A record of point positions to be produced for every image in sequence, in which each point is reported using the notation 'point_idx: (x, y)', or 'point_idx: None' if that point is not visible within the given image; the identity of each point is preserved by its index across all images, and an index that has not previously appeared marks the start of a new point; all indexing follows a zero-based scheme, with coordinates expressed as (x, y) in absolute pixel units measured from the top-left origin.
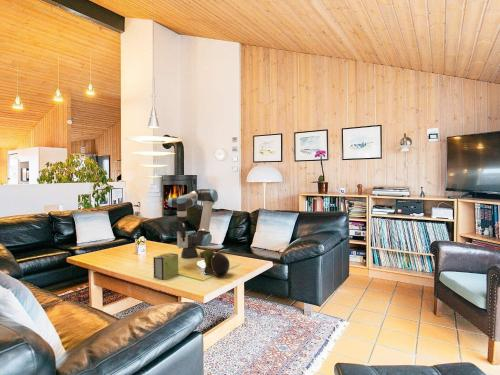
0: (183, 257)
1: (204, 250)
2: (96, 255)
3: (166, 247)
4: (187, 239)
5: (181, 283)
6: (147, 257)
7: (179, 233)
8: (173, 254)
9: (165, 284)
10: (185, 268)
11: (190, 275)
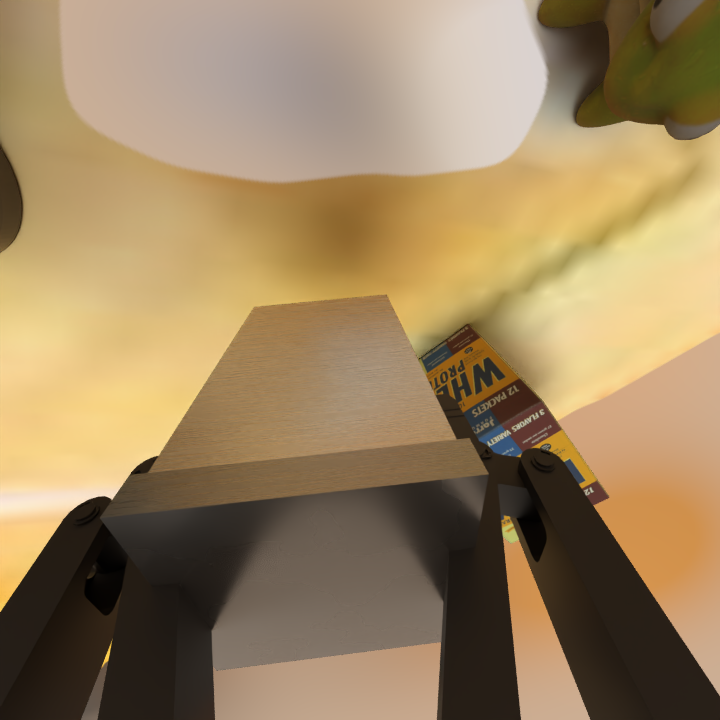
0: (5, 243)
1: (694, 10)
2: None
3: None
4: (412, 353)
5: (640, 320)
6: (22, 477)
7: None
8: (529, 438)
9: (595, 394)
10: (352, 263)
11: (535, 249)
